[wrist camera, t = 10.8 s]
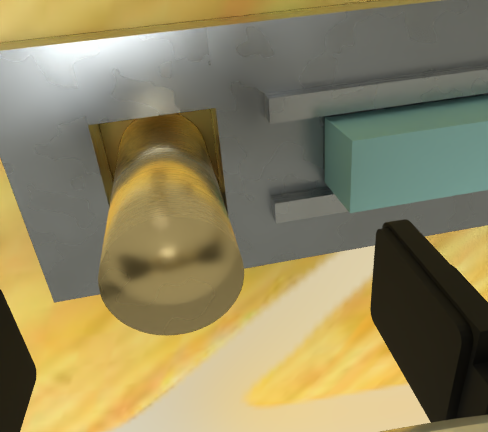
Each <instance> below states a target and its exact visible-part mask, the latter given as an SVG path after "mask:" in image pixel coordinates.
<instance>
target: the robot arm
mask: <svg viewBox="0 0 488 432" xmlns="http://www.w3.org/2000/svg"><path fill="white" fill-rule="evenodd" d="M371 316H372V319H373V322H374V324H375V326H376V327H377V329H378V331H379V333H380V334H381V336H382V338H383V340H384V341H385V343H386V345H387V347H388V348H389V350H390V352H391V354H392V355H393V357H394V359H395V361H396V362H397V364H398V366H399V368H400V369H401V371H402V373H403V375H404V376H405V378H406V380H407V382H408V383H409V385H410V387H411V389H412V390H413V392H414V394H415V395H416V397H417V399H418V401H419V402H420V404H421V406H422V408H423V409H424V411H425V413H426V414H427V416H428V418H429V420H430V422H431V423H427V424H421V425H415V426H409V427H403V428H398V429H392V430H386V431H381V432H488V302H487V301H486V300H485V299H484V298H483V297H482V296H481V295H480V294H479V293H478V291H477V290H476V289H475V288H474V287H473V286H472V285H471V284H470V283H469V282H468V281H467V280H466V279H465V278H464V277H463V275H462V274H461V273H460V272H459V271H458V270H457V269H456V268H455V267H453V266H452V265H450V264H449V263H448V262H447V260H446V259H445V258H444V257H443V256H442V255H441V254H440V253H439V252H438V251H437V250H436V249H435V248H434V247H433V245H432V244H431V243H430V242H429V241H428V240H427V239H426V238H425V237H424V236H423V235H422V234H421V233H420V232H419V230H418V229H417V228H416V227H415V226H414V225H413V224H412V223H411V222H410V221H409V220H408V219H404V220H397V221H390V222H385V223H384V224H383V226H382V229H378V230H377V232H376V241H375V255H374V268H373V282H372V295H371ZM35 381H36V367H35V364H34V362H33V360H32V358H31V355H30V353H29V351H28V349H27V346H26V344H25V342H24V340H23V337H22V335H21V333H20V331H19V329H18V326H17V324H16V322H15V320H14V317H13V315H12V313H11V311H10V308H9V306H8V304H7V302H6V299H5V297H4V295H3V293H2V291H1V289H0V432H20V430H21V427H22V423H23V420H24V417H25V414H26V410H27V407H28V404H29V401H30V397H31V394H32V391H33V388H34V385H35Z"/></svg>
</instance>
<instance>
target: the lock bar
mask: <svg viewBox="0 0 488 432" xmlns="http://www.w3.org/2000/svg"><path fill="white" fill-rule="evenodd" d="M325 183H326V185H327V186H328V187H329V188H330V190H331V191H332V192H333V193H334V194H335V196H336V197H337V198H338V199H339V200H340V202H341V203H342V204H343V205H344V207H345V208H346V209H347V210H348V211H349V213H354V212H360V211H366V210H372V209H378V208H384V207H390V206H396V205H402V204H407V203H413V202H419V201H425V200H431V199H437V198H443V197H449V196H455V195H461V194H467V193H473V192H479V191H485V190H488V95H481V96H473V97H466V98H459V99H452V100H445V101H438V102H431V103H424V104H417V105H410V106H403V107H396V108H389V109H382V110H375V111H368V112H361V113H354V114H347V115H340V116H333V117H325Z"/></svg>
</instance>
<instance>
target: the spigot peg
mask: <svg viewBox="0 0 488 432" xmlns="http://www.w3.org/2000/svg"><path fill="white" fill-rule="evenodd" d="M243 280H244V266H243V260H242V257H241V254H240V251H239V248H238V245H237V242H236V238H235V235H234V232H233V229H232V226H231V223H230V220H229V217H228V214H227V211H226V207H225V204H224V201H223V198H222V195H221V192H220V189H219V186H218V183H217V179H216V176H215V173H214V170H213V167H212V164H211V161H210V158H209V155H208V152H207V148H206V145H205V142H204V139H203V137H202V135H201V133H200V131H199V130H198V128H197V127H196V126H195V125H194V124H193V123H192V122H191V121H189V120H188V119H186V118H185V117H183V116H181V115H179V114H176V113H174V114H166V115H159V116H152V117H144V118H137V119H136V120H134V121H133V122H132V123H131V124H130V125H129V126H128V127H127V128H126V130H125V132H124V133H123V135H122V138H121V141H120V145H119V151H118V157H117V163H116V169H115V175H114V181H113V187H112V194H111V200H110V206H109V212H108V218H107V224H106V230H105V236H104V242H103V249H102V255H101V261H100V267H99V274H98V286H99V291H100V294H101V297H102V299H103V302H104V303H105V305H106V307H107V308H108V309H109V311H110V312H111V313H112V314H113V315H114V316H115V317H116V318H117V319H118V320H120V321H121V322H123V323H124V324H126V325H128V326H129V327H131V328H134V329H136V330H139V331H142V332H145V333H149V334H155V335H178V334H185V333H189V332H193V331H196V330H199V329H201V328H203V327H206V326H208V325H210V324H211V323H213V322H215V321H216V320H217V319H219V318H220V317H221V316H223V315H224V314H225V313H226V312H227V311H228V310H229V309H230V308H231V306H232V305H233V304H234V302H235V301H236V299H237V298H238V295H239V293H240V291H241V288H242V285H243Z"/></svg>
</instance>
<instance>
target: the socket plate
mask: <svg viewBox="0 0 488 432" xmlns="http://www.w3.org/2000/svg"><path fill="white" fill-rule="evenodd" d="M481 95H488V0H378V1H369V2H360V3H351V4H342V5H333V6H324V7H315V8H307V9H298V10H289V11H280V12H271V13H262V14H253V15H244V16H235V17H226V18H217V19H208V20H200V21H191V22H182V23H173V24H164V25H155V26H146V27H137V28H128V29H119V30H110V31H101V32H93V33H84V34H75V35H66V36H57V37H48V38H39V39H30V40H21V41H12V42H3V43H0V158H1V161H2V163H3V166H4V169H5V171H6V174H7V177H8V179H9V182H10V185H11V187H12V190H13V193H14V196H15V198H16V201H17V204H18V206H19V209H20V212H21V214H22V217H23V220H24V222H25V225H26V228H27V230H28V233H29V236H30V239H31V241H32V244H33V247H34V249H35V252H36V255H37V257H38V260H39V263H40V265H41V268H42V271H43V273H44V276H45V279H46V282H47V284H48V287H49V290H50V292H51V295H52V298H53V300H54V302H59V301H65V300H71V299H76V298H82V297H87V296H93V295H99V294H100V291H99V286H98V274H99V267H100V261H101V255H102V249H103V242H104V236H105V230H106V224H107V218H108V212H109V206H110V200H111V194H112V187H113V180H112V176H111V172H110V168H109V164H108V160H107V156H106V152H105V148H104V144H103V140H102V136H101V132H100V128H99V124H100V123H107V122H115V121H122V120H129V119H137V118H144V117H152V116H159V115H166V114H174V113H181V112H189V111H196V110H203V109H211V117H212V125H213V133H214V141H215V149H216V157H217V166H218V174H219V182H220V190H221V195H222V198H223V201H224V204H225V207H226V211H227V214H228V217H229V220H230V223H231V226H232V229H233V232H234V235H235V238H236V242H237V245H238V248H239V251H240V254H241V257H242V260H243V266H244V268H250V267H256V266H261V265H267V264H272V263H278V262H284V261H289V260H295V259H300V258H306V257H312V256H317V255H323V254H328V253H334V252H340V251H345V250H351V249H356V248H362V247H367V246H373V245H375V241H376V232H377V230H378V229H382V226H383V224H384V223H385V222H390V221H397V220H404V219H408V220H409V221H410V222H411V223H412V224H413V225H414V226H415V227H416V228H417V229H418V230H419V232H420V233H421V234H422V235H423V236H429V235H435V234H440V233H446V232H452V231H457V230H463V229H468V228H474V227H480V226H485V225H488V190H485V191H479V192H473V193H467V194H461V195H455V196H449V197H443V198H437V199H431V200H425V201H419V202H413V203H407V204H402V205H396V206H390V207H384V208H378V209H372V210H366V211H360V212H354V213H349V211H348V210H347V209H346V208H345V207H344V205H343V204H342V203H341V202H340V200H339V199H338V198H337V197H336V196H335V194H334V193H333V192H332V191H331V190H330V188H329V187H328V186H327V185H326V183H325V117H333V116H340V115H347V114H354V113H361V112H368V111H375V110H382V109H389V108H396V107H403V106H410V105H417V104H424V103H431V102H438V101H445V100H452V99H459V98H466V97H473V96H481Z"/></svg>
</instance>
